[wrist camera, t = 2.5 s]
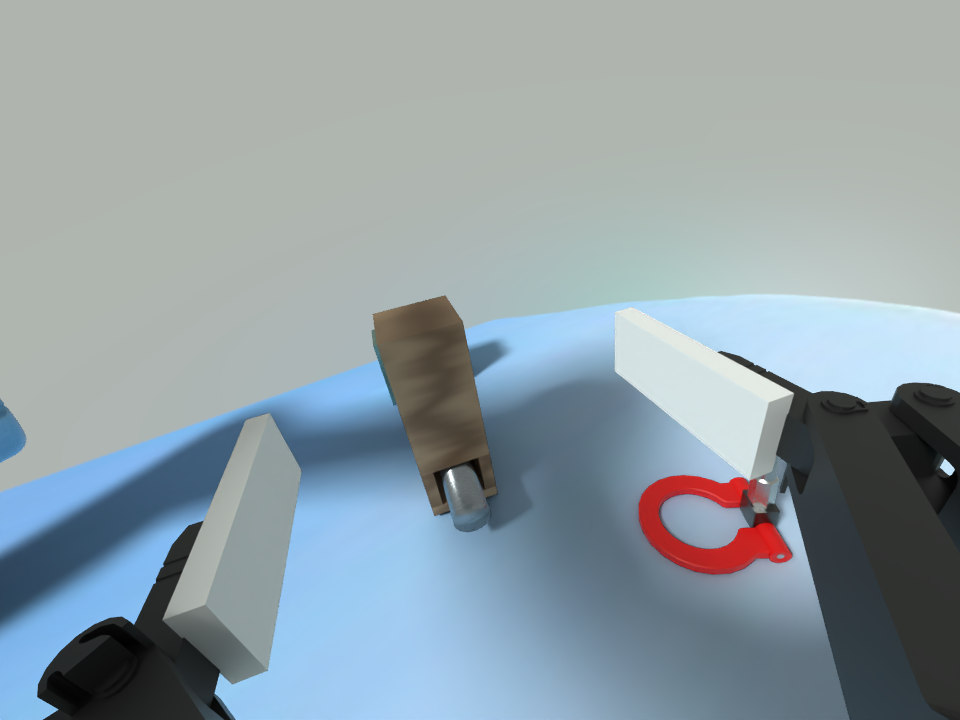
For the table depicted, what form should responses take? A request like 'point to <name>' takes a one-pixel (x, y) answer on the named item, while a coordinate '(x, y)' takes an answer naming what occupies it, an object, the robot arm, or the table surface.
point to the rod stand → (456, 484)
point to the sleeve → (435, 392)
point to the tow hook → (737, 493)
